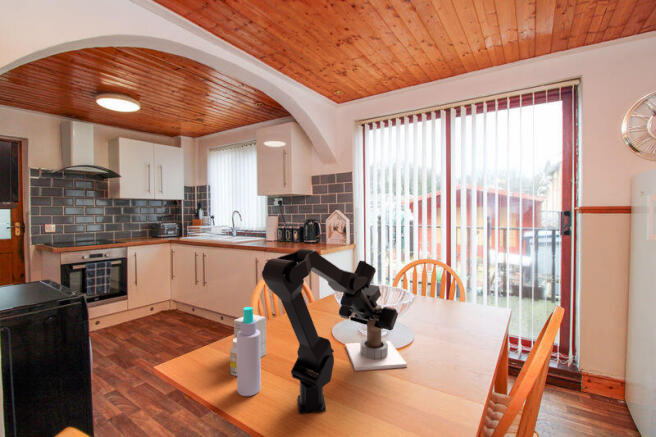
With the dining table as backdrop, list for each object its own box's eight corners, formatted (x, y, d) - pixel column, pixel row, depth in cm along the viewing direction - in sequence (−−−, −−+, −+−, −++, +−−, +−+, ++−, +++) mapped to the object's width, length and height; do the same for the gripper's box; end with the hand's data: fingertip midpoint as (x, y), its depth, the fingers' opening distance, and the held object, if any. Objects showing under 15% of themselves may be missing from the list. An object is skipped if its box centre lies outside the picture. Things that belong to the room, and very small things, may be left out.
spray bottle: (261, 382, 85) (260, 304, 84) (259, 396, 79) (259, 311, 78) (239, 384, 84) (238, 305, 83) (235, 398, 78) (234, 312, 77)
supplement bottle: (228, 376, 88) (227, 343, 87) (232, 367, 93) (232, 336, 93) (247, 375, 88) (247, 343, 88) (250, 366, 93) (250, 335, 93)
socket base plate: (406, 367, 93) (406, 354, 93) (355, 370, 91) (355, 357, 91) (389, 343, 109) (389, 332, 109) (345, 346, 107) (345, 335, 107)
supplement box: (250, 349, 105) (250, 312, 104) (266, 354, 101) (266, 316, 100) (233, 358, 99) (233, 319, 98) (250, 364, 95) (249, 324, 94)
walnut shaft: (384, 349, 99) (384, 306, 99) (374, 353, 96) (374, 309, 96) (373, 344, 103) (373, 303, 102) (364, 348, 100) (364, 305, 100)
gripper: (395, 282, 90) (410, 310, 99) (343, 274, 101) (361, 299, 111) (382, 316, 84) (399, 342, 93) (329, 303, 95) (348, 327, 105)
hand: (376, 326), depth 100 cm, fingers closed on walnut shaft, 5 cm apart
